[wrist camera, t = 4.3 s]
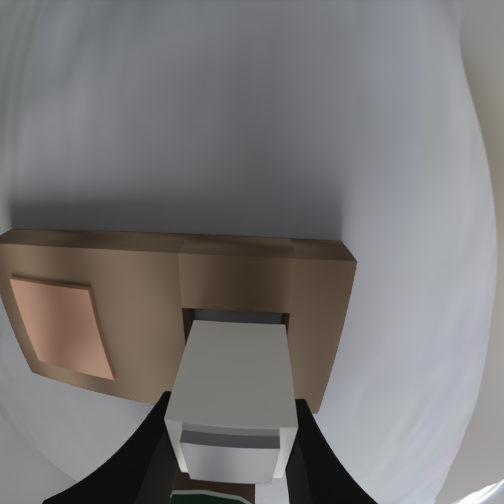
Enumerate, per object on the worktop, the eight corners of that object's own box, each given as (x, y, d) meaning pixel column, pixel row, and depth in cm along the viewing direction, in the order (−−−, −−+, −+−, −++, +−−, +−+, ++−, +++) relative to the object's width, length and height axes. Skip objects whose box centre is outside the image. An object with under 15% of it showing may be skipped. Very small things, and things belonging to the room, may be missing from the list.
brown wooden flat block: (47, 352, 18) (30, 374, 15) (11, 229, 14) (-17, 244, 12) (312, 385, 18) (318, 416, 15) (341, 241, 14) (359, 264, 12)
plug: (199, 381, 14) (179, 481, 9) (193, 319, 13) (160, 431, 7) (276, 385, 14) (282, 487, 9) (285, 324, 13) (299, 440, 7)
